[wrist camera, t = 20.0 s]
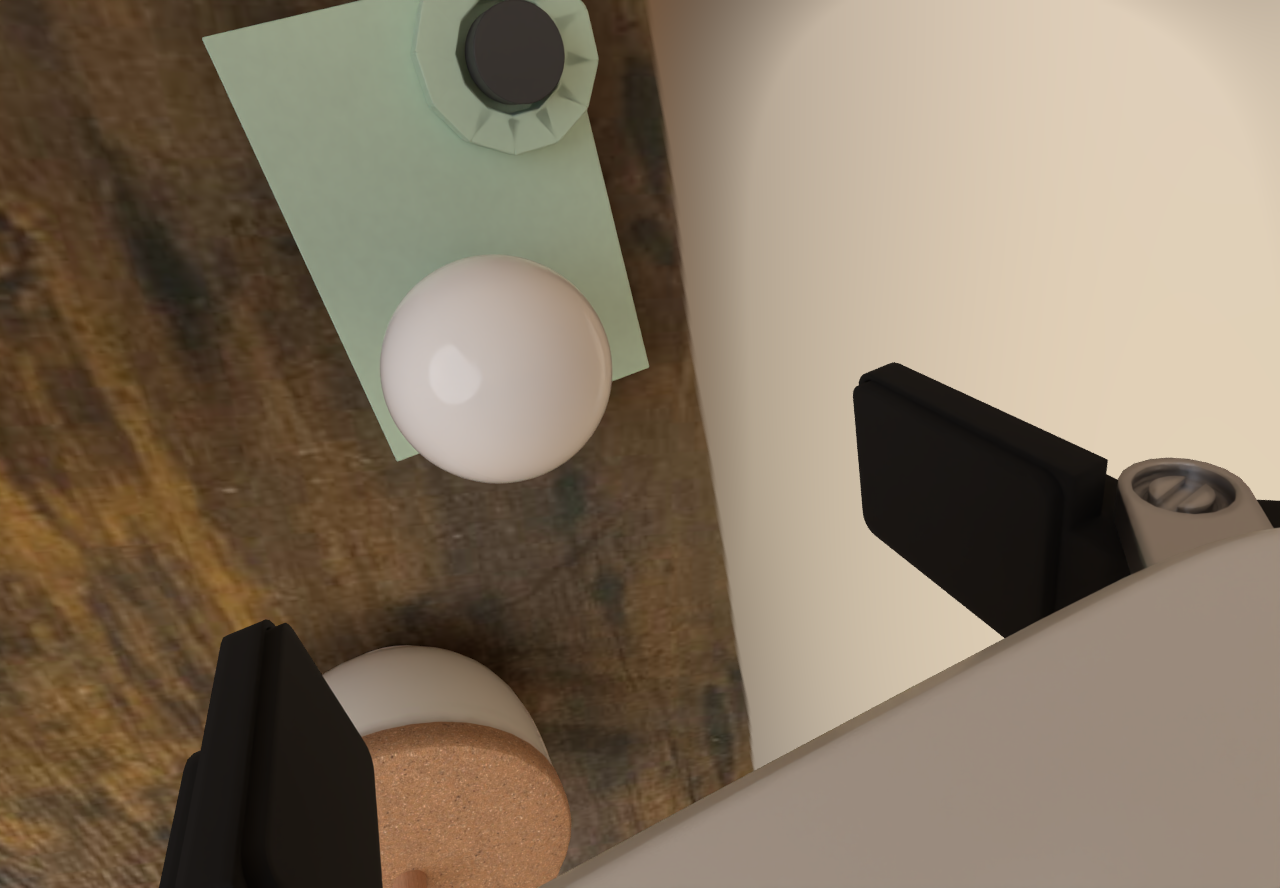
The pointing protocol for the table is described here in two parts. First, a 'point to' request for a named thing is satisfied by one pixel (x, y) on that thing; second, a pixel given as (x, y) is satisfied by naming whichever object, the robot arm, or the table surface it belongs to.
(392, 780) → the lidded bowl
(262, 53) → the green dial base
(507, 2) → the tare button
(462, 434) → the lightbulb
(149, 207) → the table surface
